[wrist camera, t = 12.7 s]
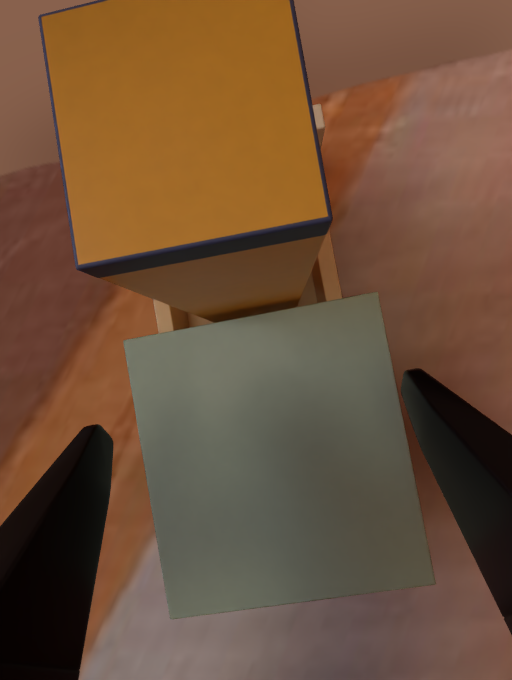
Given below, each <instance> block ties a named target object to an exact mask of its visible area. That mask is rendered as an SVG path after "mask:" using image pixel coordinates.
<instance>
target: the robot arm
mask: <svg viewBox="0 0 512 680" xmlns="http://www.w3.org/2000/svg"><path fill="white" fill-rule="evenodd" d="M401 394H402V397H403V400H404V403H405V406H406V409H407V412H408V414H409V417H410V420H411V423H412V426H413V429H414V431H415V434H416V437H417V440H418V442H419V445H420V447H421V450H422V452H423V454H424V456H425V458H426V460H427V462H428V464H429V466H430V468H431V470H432V472H433V474H434V476H435V478H436V481H437V483H438V485H439V487H440V489H441V491H442V493H443V495H444V497H445V499H446V501H447V503H448V505H449V507H450V509H451V511H452V513H453V515H454V517H455V519H456V521H457V524H458V526H459V528H460V530H461V532H462V534H463V536H464V538H465V540H466V542H467V544H468V546H469V548H470V550H471V552H472V554H473V556H474V558H475V560H476V562H477V565H478V567H479V569H480V571H481V573H482V575H483V577H484V579H485V581H486V583H487V585H488V587H489V589H490V591H491V593H492V595H493V597H494V599H495V601H496V603H497V605H498V608H499V610H500V612H501V614H502V616H503V617H505V618H504V620H505V622H506V624H507V626H508V628H509V630H510V633H511V635H512V435H511V434H510V433H508V432H507V431H506V430H504V429H503V428H502V427H500V426H499V425H497V424H496V423H495V422H493V421H492V420H491V419H489V418H488V417H487V416H485V415H484V414H482V413H481V412H480V411H478V410H477V409H476V408H474V407H473V406H471V405H470V404H469V403H467V402H466V401H465V400H463V399H462V398H460V397H459V396H458V395H456V394H455V393H454V392H452V391H451V390H450V389H448V388H447V387H445V386H444V385H443V384H441V383H440V382H439V381H437V380H436V379H434V378H433V377H432V376H430V375H429V374H428V373H426V372H425V371H424V370H422V369H419V368H416V369H410V370H406V371H405V372H404V374H403V380H402V385H401ZM112 460H113V440H112V438H111V437H110V435H109V434H108V433H107V432H106V431H105V430H104V429H103V428H102V427H101V426H100V425H98V424H96V425H90V426H86V427H84V428H83V429H82V430H81V431H80V432H79V433H78V434H77V436H76V437H75V438H74V439H73V440H72V442H71V443H70V444H69V445H68V446H67V448H66V449H65V450H64V451H63V452H62V454H61V455H60V456H59V457H58V458H57V459H56V461H55V462H54V463H53V464H52V465H51V467H50V468H49V469H48V470H47V471H46V473H45V474H44V475H43V476H42V477H41V478H40V480H39V481H38V482H37V483H36V484H35V486H34V487H33V488H32V489H31V490H30V492H29V493H28V494H27V495H26V496H25V498H24V499H23V500H22V501H21V502H20V503H19V505H18V506H17V507H16V508H15V509H14V511H13V512H12V513H11V514H10V515H9V517H8V518H7V519H6V520H5V521H4V523H3V524H2V525H1V526H0V680H78V678H79V672H80V671H79V669H80V665H81V660H82V654H83V648H84V642H85V637H86V631H87V625H88V619H89V614H90V608H91V602H92V596H93V591H94V585H95V579H96V573H97V567H98V562H99V556H100V550H101V544H102V539H103V533H104V527H105V521H106V516H107V510H108V504H109V498H110V489H111V475H112Z"/></svg>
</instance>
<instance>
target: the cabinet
mask: <svg viewBox="0 0 512 680" xmlns="http://www.w3.org/2000/svg"><path fill="white" fill-rule="evenodd" d="M123 342H124V348H125V354H126V360H127V366H128V372H129V378H130V383H131V389H132V395H133V401H134V407H135V413H136V419H137V425H138V431H139V437H140V443H141V449H142V455H143V460H144V466H145V472H146V478H147V484H148V490H149V496H150V502H151V508H152V514H153V520H154V526H155V532H156V538H157V543H158V549H159V555H160V561H161V567H162V573H163V579H164V585H165V591H166V597H167V603H168V609H169V615H170V619H178V618H186V617H193V616H201V615H208V614H216V613H224V612H231V611H239V610H246V609H254V608H261V607H269V606H277V605H284V604H292V603H299V602H307V601H314V600H322V599H330V598H337V597H345V596H352V595H360V594H368V593H375V592H383V591H390V590H398V589H405V588H413V587H421V586H428V585H435V584H436V582H435V577H434V572H433V567H432V562H431V557H430V552H429V547H428V542H427V537H426V532H425V527H424V522H423V517H422V512H421V507H420V502H419V497H418V492H417V487H416V482H415V477H414V472H413V467H412V462H411V457H410V452H409V447H408V442H407V437H406V432H405V427H404V422H403V417H402V411H401V406H400V401H399V396H398V391H397V386H396V381H395V376H394V371H393V366H392V361H391V356H390V351H389V346H388V341H387V336H386V331H385V326H384V321H383V316H382V311H381V306H380V301H379V296H378V292H373V293H368V294H363V295H357V296H352V297H347V298H342V299H336V300H331V301H326V302H321V303H316V304H310V305H305V306H300V307H295V308H290V309H284V310H279V311H274V312H269V313H264V314H258V315H253V316H248V317H243V318H237V319H232V320H227V321H222V322H217V323H211V324H206V325H201V326H196V327H191V328H185V329H180V330H175V331H170V332H165V333H159V334H154V335H149V336H144V337H138V338H133V339H128V340H124V341H123Z"/></svg>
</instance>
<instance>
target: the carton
mask: <svg viewBox="0 0 512 680" xmlns="http://www.w3.org/2000/svg"><path fill="white" fill-rule="evenodd" d="M38 18H39V25H40V32H41V38H42V45H43V52H44V59H45V65H46V72H47V78H48V85H49V92H50V98H51V105H52V112H53V118H54V125H55V131H56V139H57V145H58V152H59V158H60V165H61V172H62V179H63V186H64V192H65V199H66V206H67V212H68V219H69V226H70V232H71V239H72V246H73V252H74V259H75V266H76V269H77V270H79V271H82V272H84V273H87V274H89V275H92V276H94V277H97V278H101V279H103V280H106V281H108V282H111V283H114V284H116V285H119V286H121V287H124V288H126V289H129V290H132V291H134V292H137V293H139V294H142V295H144V296H147V297H150V298H152V299H155V300H157V301H160V302H162V303H165V304H168V305H170V306H173V307H175V308H178V309H180V310H183V311H186V312H188V313H191V314H193V315H196V316H198V317H201V318H204V319H206V320H209V321H211V322H214V323H217V322H222V321H227V320H232V319H237V318H243V317H248V316H253V315H258V314H264V313H269V312H274V311H279V310H284V309H290V308H295V307H297V306H298V303H299V301H300V298H301V296H302V293H303V291H304V288H305V286H306V283H307V281H308V278H309V276H310V273H311V271H312V268H313V266H314V263H315V261H316V258H317V256H318V253H319V251H320V248H321V246H322V243H323V241H324V239H325V236H326V234H327V232H328V230H329V227H330V225H331V222H332V219H333V217H332V211H331V206H330V200H329V195H328V189H327V184H326V178H325V172H324V167H323V161H322V156H321V150H320V145H319V139H318V134H317V128H316V122H315V117H314V111H313V106H312V100H311V95H310V89H309V84H308V78H307V72H306V68H305V61H304V56H303V50H302V45H301V39H300V34H299V28H298V23H297V17H296V11H295V6H294V1H293V0H98V1H94V2H90V3H86V4H82V5H78V6H74V7H70V8H66V9H62V10H58V11H54V12H50V13H46V14H42V15H40V16H39V17H38Z"/></svg>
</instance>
